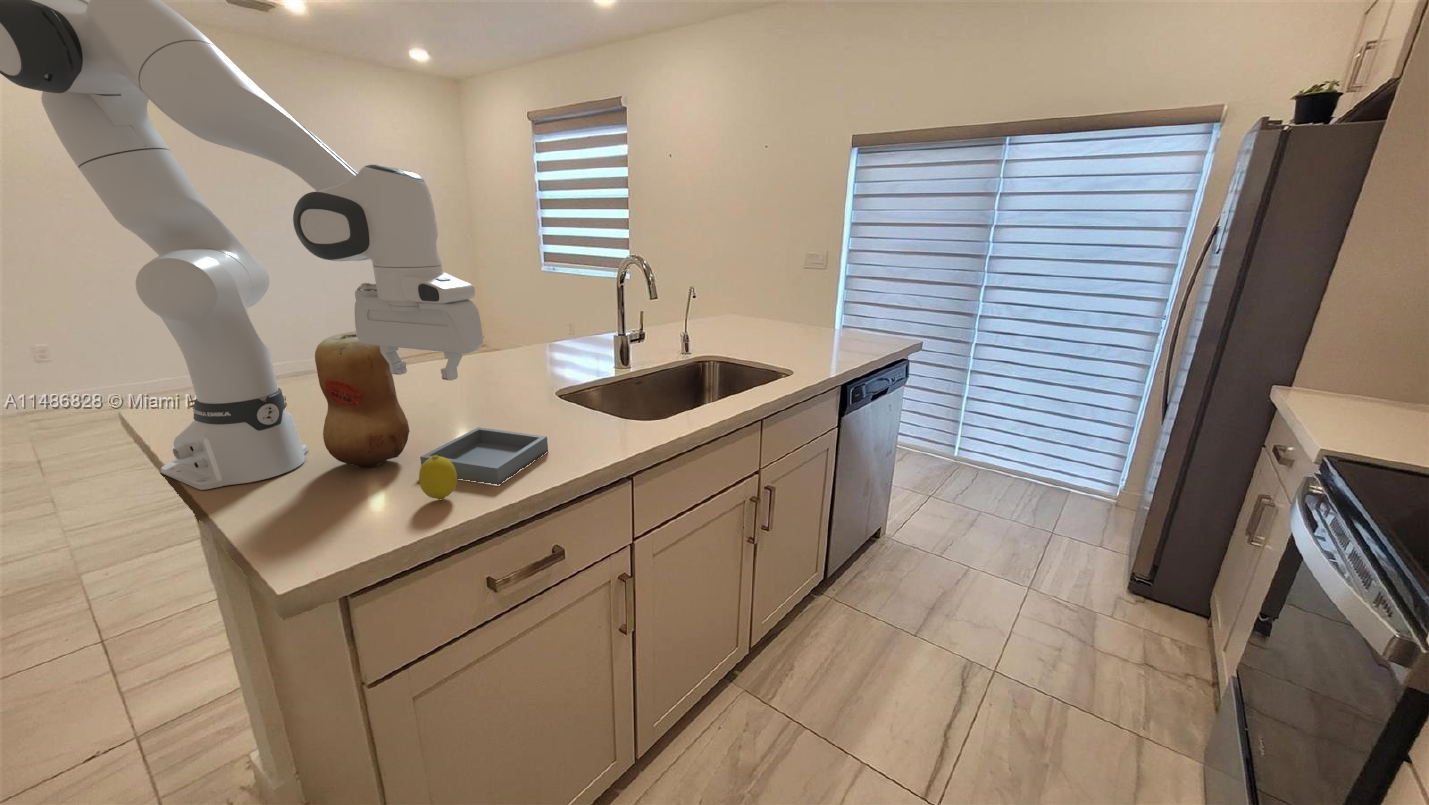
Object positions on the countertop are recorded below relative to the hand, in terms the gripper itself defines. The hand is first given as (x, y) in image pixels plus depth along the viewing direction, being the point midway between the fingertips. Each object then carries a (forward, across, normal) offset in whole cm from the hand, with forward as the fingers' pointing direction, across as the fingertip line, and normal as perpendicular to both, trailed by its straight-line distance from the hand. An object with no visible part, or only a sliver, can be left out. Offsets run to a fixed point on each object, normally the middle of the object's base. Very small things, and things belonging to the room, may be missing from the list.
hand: (424, 376), depth 85 cm
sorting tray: (+21, -2, +15) cm, 26 cm away
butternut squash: (+21, -22, +8) cm, 32 cm away
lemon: (+21, 0, 0) cm, 21 cm away
